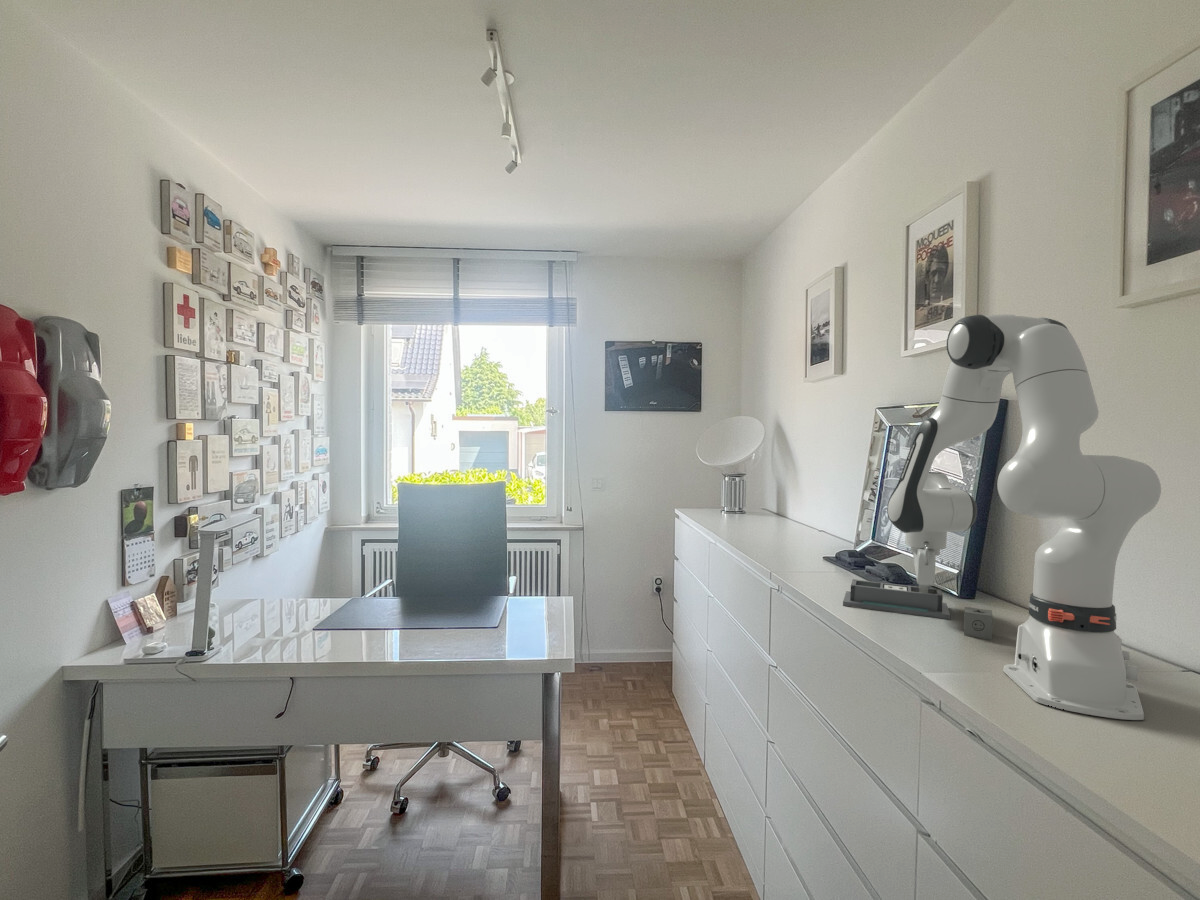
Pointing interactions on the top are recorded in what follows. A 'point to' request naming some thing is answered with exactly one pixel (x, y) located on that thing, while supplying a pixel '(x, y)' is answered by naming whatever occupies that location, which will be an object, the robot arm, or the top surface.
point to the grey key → (895, 587)
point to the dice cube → (978, 623)
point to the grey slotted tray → (896, 599)
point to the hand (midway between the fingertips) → (922, 596)
